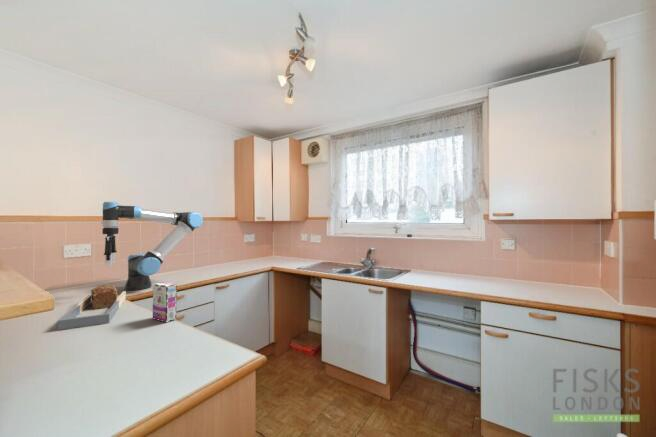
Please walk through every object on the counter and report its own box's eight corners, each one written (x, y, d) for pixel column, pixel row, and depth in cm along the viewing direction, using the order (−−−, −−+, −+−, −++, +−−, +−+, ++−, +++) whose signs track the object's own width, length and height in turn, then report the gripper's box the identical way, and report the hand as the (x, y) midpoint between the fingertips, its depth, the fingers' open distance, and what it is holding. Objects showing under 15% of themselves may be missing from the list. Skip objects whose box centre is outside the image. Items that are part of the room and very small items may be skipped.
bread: (117, 306, 145) (117, 287, 145) (91, 310, 138) (91, 291, 138) (114, 299, 159) (115, 282, 159) (90, 302, 152) (91, 284, 152)
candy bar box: (177, 319, 126) (177, 284, 126) (166, 323, 121) (166, 286, 121) (162, 315, 131) (163, 281, 131) (151, 318, 126) (152, 283, 127)
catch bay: (125, 297, 161) (125, 291, 161) (109, 322, 121) (109, 314, 121) (88, 302, 153) (88, 294, 153) (57, 330, 113) (57, 320, 113)
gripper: (106, 227, 170) (106, 262, 170) (97, 227, 151) (97, 267, 151) (121, 227, 174) (121, 261, 174) (114, 227, 154) (114, 266, 154)
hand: (110, 264), depth 162 cm, fingers open, 10 cm apart
